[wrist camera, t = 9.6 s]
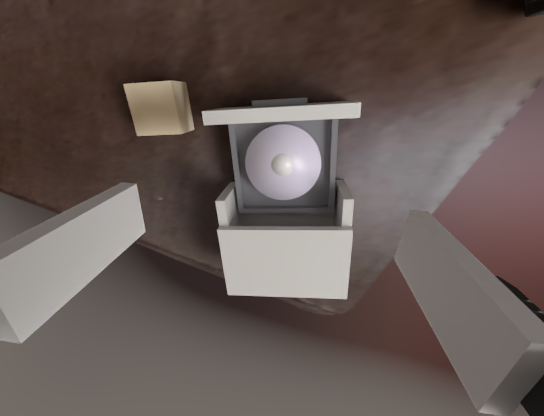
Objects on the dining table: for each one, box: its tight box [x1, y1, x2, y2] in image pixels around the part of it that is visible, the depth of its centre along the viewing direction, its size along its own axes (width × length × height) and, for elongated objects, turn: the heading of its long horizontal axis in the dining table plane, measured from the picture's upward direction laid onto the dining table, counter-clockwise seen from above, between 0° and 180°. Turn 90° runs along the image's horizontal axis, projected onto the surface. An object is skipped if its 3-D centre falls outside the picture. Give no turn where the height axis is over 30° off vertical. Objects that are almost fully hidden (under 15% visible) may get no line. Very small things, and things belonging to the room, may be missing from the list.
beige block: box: [123, 81, 194, 136], centre depth 27 cm, size 5×5×4 cm
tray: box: [202, 97, 361, 214], centre depth 26 cm, size 12×14×6 cm
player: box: [215, 180, 354, 299], centre depth 30 cm, size 12×14×7 cm
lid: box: [245, 123, 321, 200], centre depth 27 cm, size 8×8×2 cm
